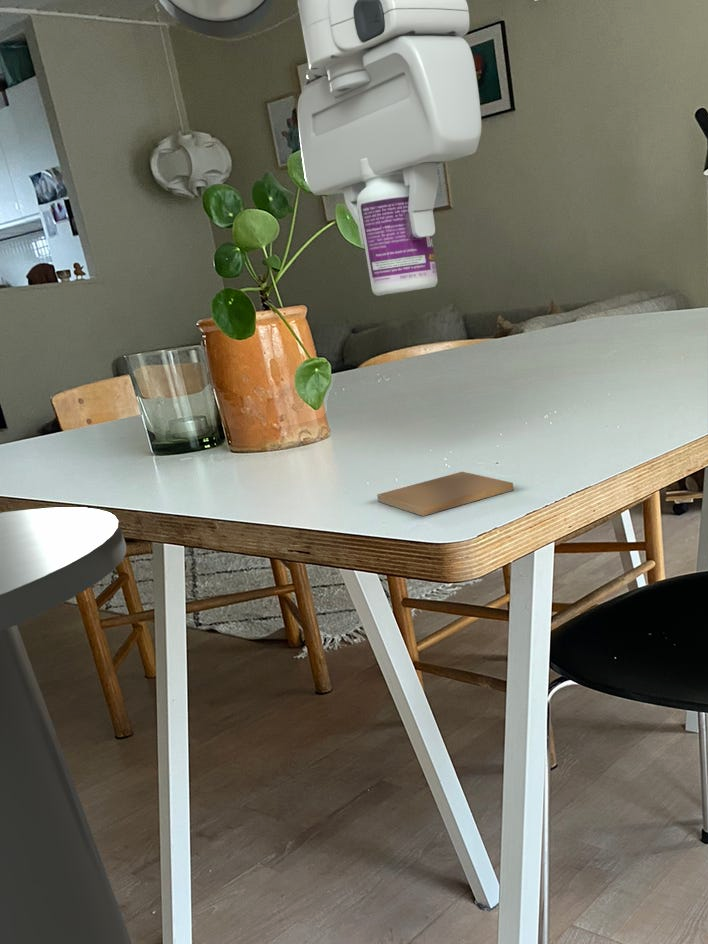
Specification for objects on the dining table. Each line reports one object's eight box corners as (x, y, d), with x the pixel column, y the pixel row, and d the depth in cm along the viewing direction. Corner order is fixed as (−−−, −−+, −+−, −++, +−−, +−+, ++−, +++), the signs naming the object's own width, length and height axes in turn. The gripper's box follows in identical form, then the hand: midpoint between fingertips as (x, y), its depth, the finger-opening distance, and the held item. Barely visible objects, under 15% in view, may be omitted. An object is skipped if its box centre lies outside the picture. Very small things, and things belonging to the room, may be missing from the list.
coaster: (422, 516, 68) (421, 508, 68) (377, 501, 75) (376, 494, 74) (514, 490, 71) (513, 482, 71) (463, 478, 78) (462, 471, 78)
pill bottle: (450, 285, 72) (431, 147, 69) (388, 295, 70) (364, 153, 67) (422, 288, 77) (402, 159, 73) (363, 297, 75) (339, 165, 71)
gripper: (265, 72, 73) (302, 259, 79) (403, -10, 58) (437, 231, 63) (335, 71, 77) (365, 251, 82) (483, -6, 61) (509, 222, 66)
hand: (398, 242), depth 72 cm, fingers closed on pill bottle, 5 cm apart
